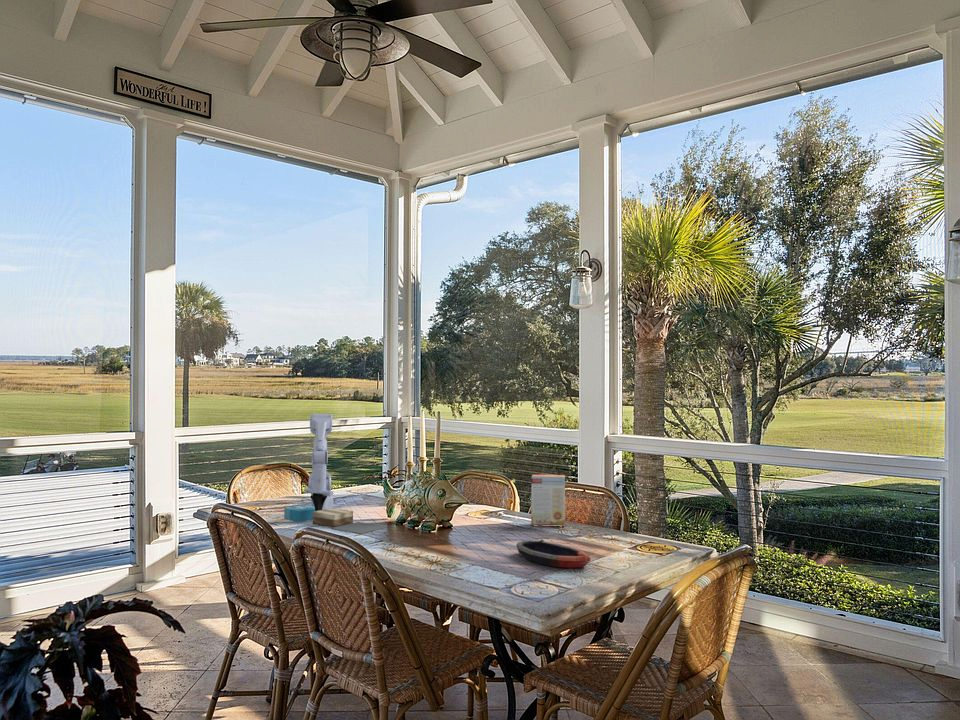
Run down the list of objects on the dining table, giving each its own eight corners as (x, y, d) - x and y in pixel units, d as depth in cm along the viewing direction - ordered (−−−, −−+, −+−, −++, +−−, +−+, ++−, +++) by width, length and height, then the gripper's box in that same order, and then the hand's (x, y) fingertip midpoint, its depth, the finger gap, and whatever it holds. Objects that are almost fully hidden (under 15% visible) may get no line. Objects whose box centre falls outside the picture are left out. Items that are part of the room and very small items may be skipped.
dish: (536, 549, 265) (536, 535, 265) (602, 568, 241) (602, 552, 241) (504, 556, 255) (504, 541, 255) (569, 575, 231) (570, 559, 231)
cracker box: (564, 524, 309) (565, 474, 310) (564, 527, 303) (565, 476, 304) (531, 523, 311) (531, 473, 311) (530, 526, 305) (531, 475, 305)
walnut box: (331, 519, 312) (331, 512, 312) (352, 523, 305) (353, 515, 305) (312, 524, 302) (312, 516, 302) (334, 527, 296) (334, 520, 296)
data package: (282, 507, 314) (307, 504, 322) (282, 518, 314) (307, 514, 322) (297, 511, 305) (322, 508, 314) (297, 522, 305) (322, 518, 314)
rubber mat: (357, 522, 307) (357, 521, 307) (387, 527, 298) (387, 526, 298) (330, 528, 293) (330, 528, 293) (361, 534, 285) (361, 533, 285)
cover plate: (331, 512, 312) (331, 507, 312) (353, 515, 305) (353, 511, 305) (312, 516, 302) (312, 511, 302) (334, 520, 296) (334, 515, 296)
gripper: (299, 478, 309) (299, 511, 309) (325, 482, 301) (324, 515, 301) (312, 477, 315) (311, 509, 315) (337, 480, 307) (336, 512, 307)
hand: (318, 512), depth 308 cm, fingers closed
